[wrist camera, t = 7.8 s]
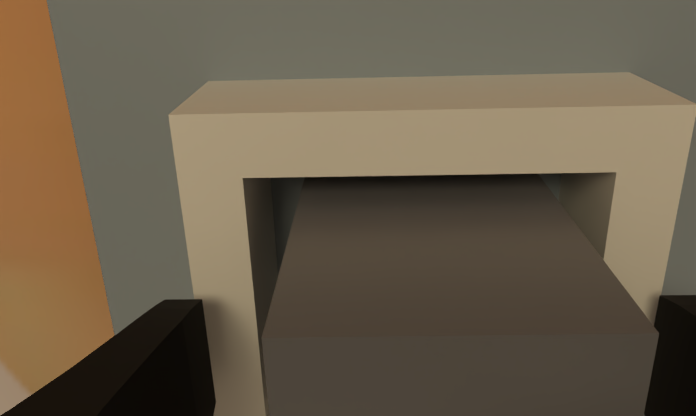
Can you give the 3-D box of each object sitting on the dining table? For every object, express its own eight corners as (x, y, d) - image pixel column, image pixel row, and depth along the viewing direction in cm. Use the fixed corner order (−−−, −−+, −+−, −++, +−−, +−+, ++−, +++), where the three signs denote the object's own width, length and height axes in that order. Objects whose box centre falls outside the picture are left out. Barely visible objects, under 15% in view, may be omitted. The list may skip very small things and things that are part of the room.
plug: (521, 151, 12) (659, 333, 6) (507, 330, 13) (607, 604, 8) (310, 156, 12) (261, 337, 6) (320, 332, 13) (288, 602, 8)
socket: (793, -129, 11) (977, -163, 7) (657, 481, 16) (731, 616, 13) (52, -105, 11) (-76, -127, 8) (162, 480, 17) (113, 609, 13)
